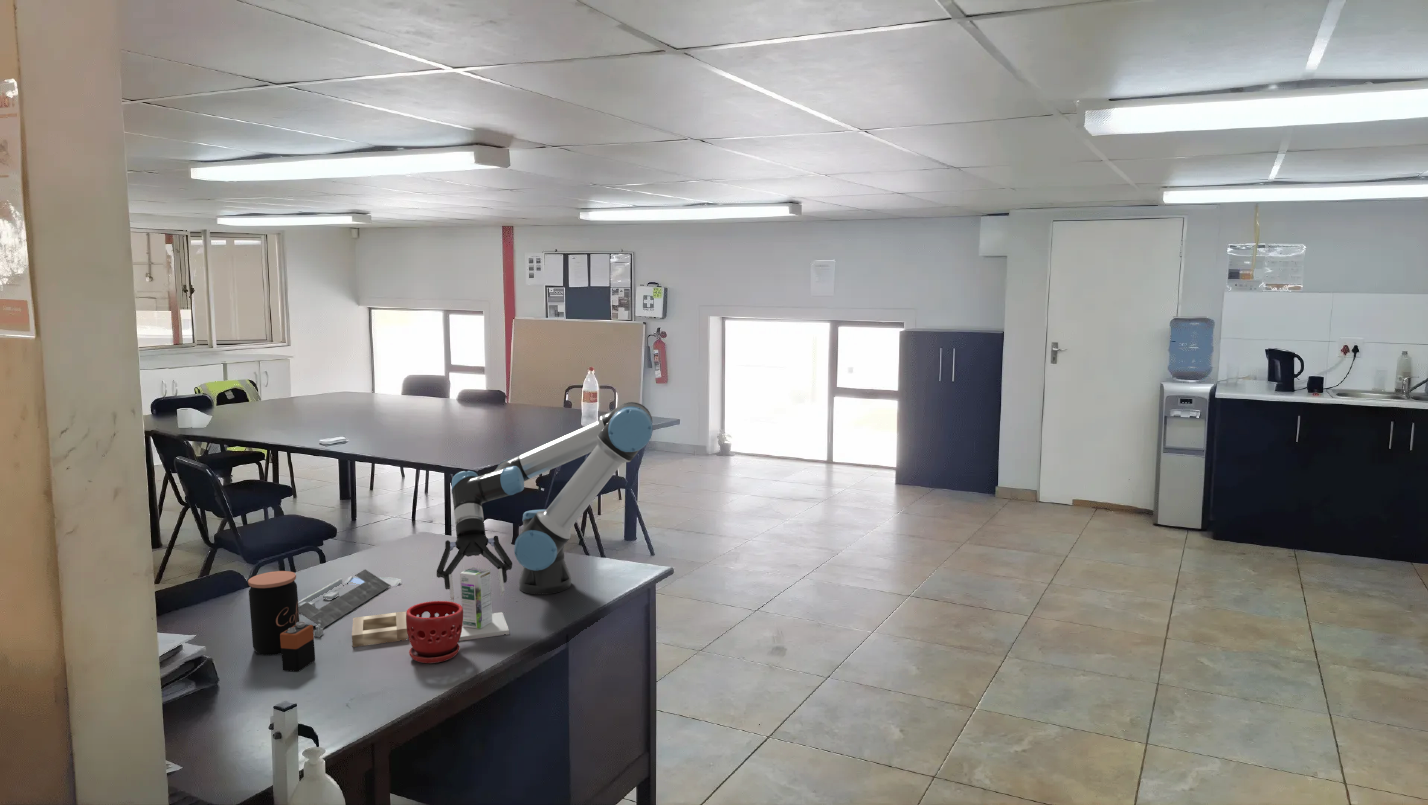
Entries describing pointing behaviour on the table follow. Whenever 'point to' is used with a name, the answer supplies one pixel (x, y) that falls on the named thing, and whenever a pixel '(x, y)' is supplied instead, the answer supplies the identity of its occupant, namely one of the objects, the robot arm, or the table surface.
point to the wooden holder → (379, 629)
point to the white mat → (487, 629)
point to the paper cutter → (343, 598)
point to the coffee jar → (272, 609)
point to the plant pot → (434, 631)
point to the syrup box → (476, 597)
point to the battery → (297, 647)
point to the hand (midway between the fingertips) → (477, 596)
